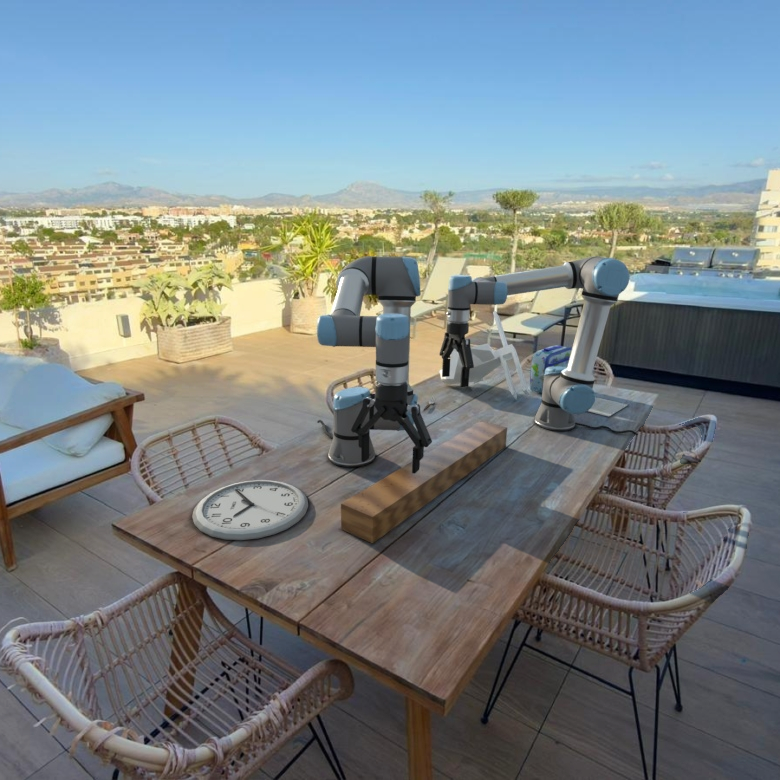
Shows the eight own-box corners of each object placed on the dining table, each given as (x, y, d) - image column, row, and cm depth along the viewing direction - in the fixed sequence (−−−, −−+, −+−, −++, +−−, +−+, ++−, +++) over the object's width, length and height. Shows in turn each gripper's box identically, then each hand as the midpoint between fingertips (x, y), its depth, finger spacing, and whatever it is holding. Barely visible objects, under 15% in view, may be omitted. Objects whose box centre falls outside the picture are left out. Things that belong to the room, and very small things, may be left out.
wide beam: (479, 439, 189) (481, 420, 187) (505, 446, 183) (507, 427, 181) (341, 529, 132) (340, 503, 129) (372, 543, 126) (372, 516, 124)
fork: (420, 411, 216) (420, 406, 216) (430, 400, 230) (431, 395, 230) (426, 412, 215) (426, 407, 215) (436, 401, 230) (436, 396, 229)
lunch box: (546, 398, 236) (551, 353, 229) (525, 393, 243) (529, 349, 237) (573, 387, 253) (579, 344, 247) (553, 382, 260) (558, 341, 254)
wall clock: (304, 532, 127) (176, 536, 124) (304, 538, 127) (177, 542, 125) (311, 475, 155) (207, 478, 153) (311, 480, 156) (208, 483, 153)
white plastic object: (461, 429, 252) (437, 405, 227) (444, 352, 274) (420, 323, 250) (535, 404, 240) (518, 377, 215) (510, 326, 262) (492, 293, 237)
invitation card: (608, 416, 214) (573, 407, 224) (608, 416, 214) (573, 408, 224) (628, 404, 229) (594, 396, 238) (628, 405, 229) (594, 397, 238)
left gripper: (336, 378, 123) (337, 461, 129) (436, 393, 112) (432, 482, 119) (352, 371, 129) (352, 450, 135) (448, 385, 119) (443, 469, 125)
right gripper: (431, 316, 188) (429, 373, 194) (466, 328, 165) (462, 392, 172) (450, 315, 190) (447, 371, 197) (487, 327, 168) (482, 390, 175)
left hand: (390, 465), depth 127 cm, fingers open, 13 cm apart
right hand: (454, 381), depth 184 cm, fingers open, 13 cm apart
